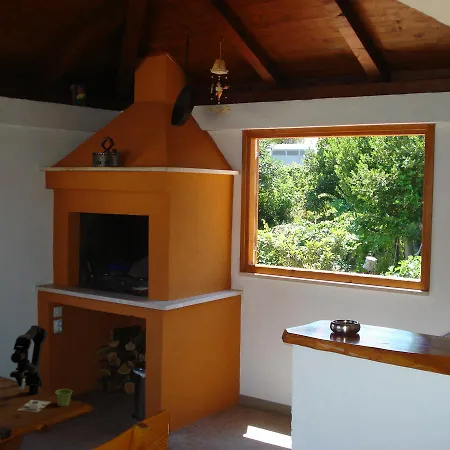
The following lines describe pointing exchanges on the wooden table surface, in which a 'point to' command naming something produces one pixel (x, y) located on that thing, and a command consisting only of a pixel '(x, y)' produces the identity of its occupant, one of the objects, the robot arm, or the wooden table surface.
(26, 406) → the board
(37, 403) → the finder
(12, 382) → the wooden table surface
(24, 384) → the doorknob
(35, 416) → the wooden table surface
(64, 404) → the plant pot
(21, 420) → the wooden table surface
